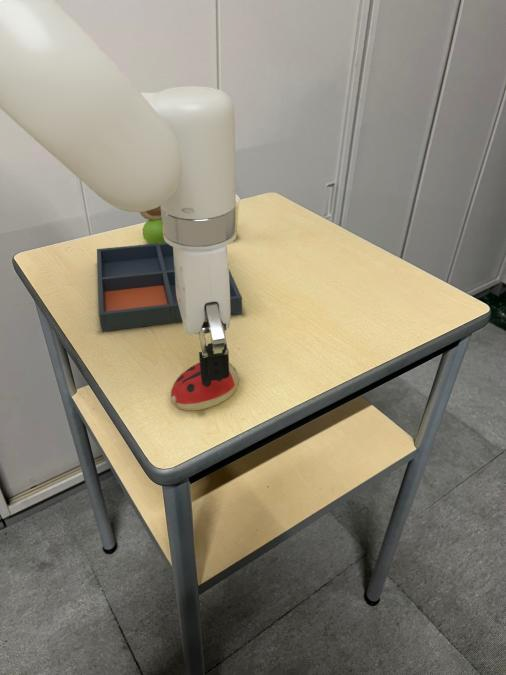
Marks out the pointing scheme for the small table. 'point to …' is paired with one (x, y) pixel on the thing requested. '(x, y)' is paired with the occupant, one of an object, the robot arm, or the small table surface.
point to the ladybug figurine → (202, 389)
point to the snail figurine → (153, 226)
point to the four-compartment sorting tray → (142, 287)
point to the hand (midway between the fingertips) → (207, 352)
